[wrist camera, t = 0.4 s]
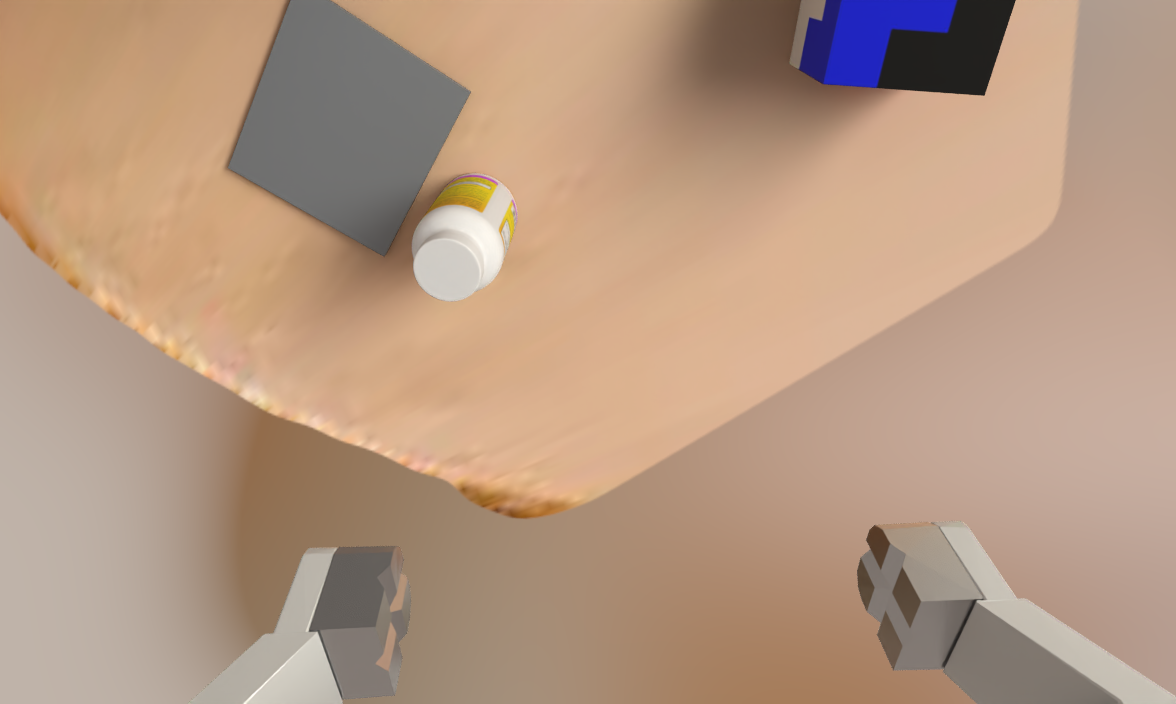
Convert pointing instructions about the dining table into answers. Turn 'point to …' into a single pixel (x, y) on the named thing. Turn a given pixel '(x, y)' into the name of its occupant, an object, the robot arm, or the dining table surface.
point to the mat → (345, 123)
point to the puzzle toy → (901, 43)
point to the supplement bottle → (464, 237)
